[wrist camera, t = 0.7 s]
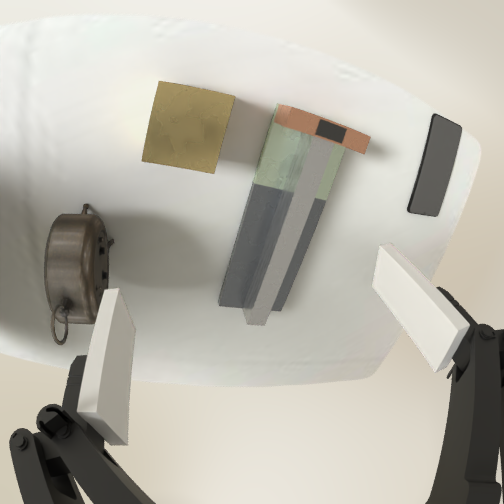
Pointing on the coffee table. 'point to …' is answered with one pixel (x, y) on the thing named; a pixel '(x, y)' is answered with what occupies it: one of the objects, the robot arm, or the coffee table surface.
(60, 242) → the alarm clock
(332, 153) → the rail
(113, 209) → the coffee table surface
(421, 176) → the smartphone
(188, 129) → the clip
